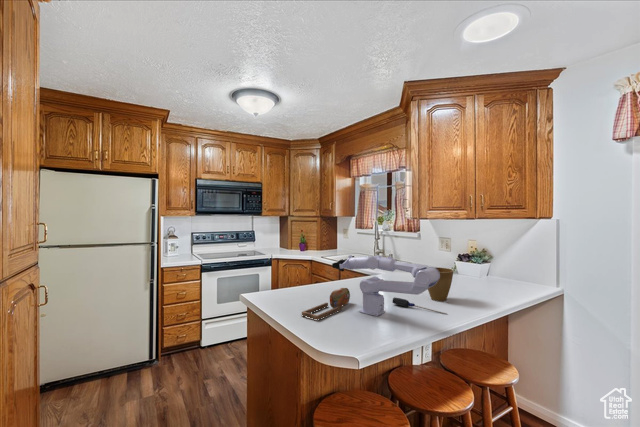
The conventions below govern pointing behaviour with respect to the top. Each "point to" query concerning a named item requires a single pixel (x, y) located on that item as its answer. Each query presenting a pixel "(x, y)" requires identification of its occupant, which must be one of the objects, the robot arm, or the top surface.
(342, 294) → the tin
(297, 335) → the top surface
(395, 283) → the robot arm
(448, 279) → the plant pot
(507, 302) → the top surface
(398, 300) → the screwdriver
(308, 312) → the brown beaded frame
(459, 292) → the top surface
